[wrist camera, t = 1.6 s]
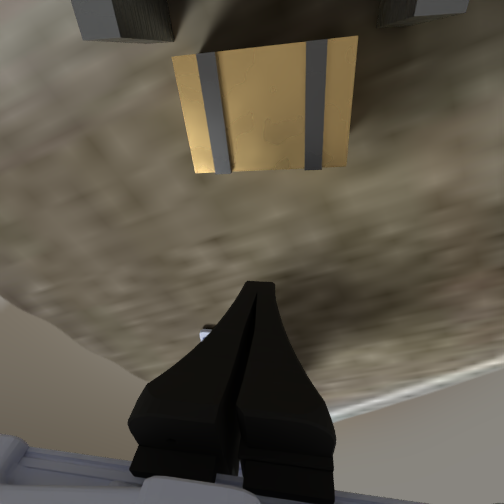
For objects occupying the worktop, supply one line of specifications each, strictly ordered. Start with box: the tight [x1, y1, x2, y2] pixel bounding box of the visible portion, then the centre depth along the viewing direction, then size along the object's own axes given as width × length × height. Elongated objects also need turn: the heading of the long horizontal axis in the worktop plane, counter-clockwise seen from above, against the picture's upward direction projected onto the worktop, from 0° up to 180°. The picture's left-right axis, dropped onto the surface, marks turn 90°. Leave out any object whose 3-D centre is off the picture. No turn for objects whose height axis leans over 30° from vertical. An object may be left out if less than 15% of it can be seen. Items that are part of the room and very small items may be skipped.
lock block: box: [172, 36, 358, 174], centre depth 14 cm, size 5×8×4 cm, turn 95°
